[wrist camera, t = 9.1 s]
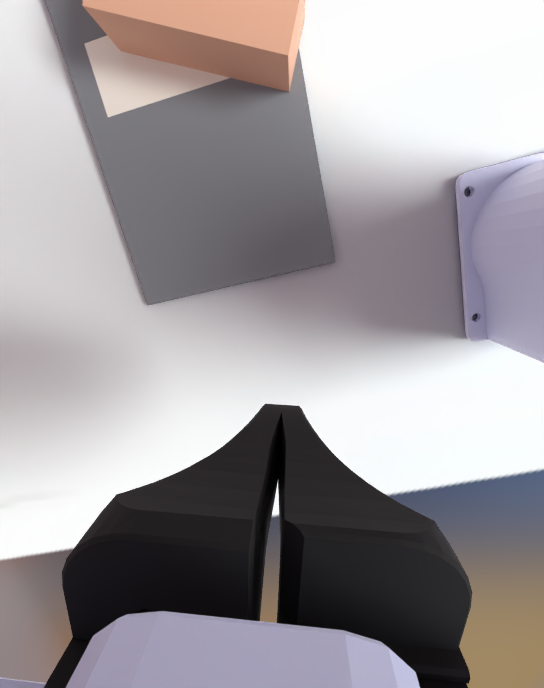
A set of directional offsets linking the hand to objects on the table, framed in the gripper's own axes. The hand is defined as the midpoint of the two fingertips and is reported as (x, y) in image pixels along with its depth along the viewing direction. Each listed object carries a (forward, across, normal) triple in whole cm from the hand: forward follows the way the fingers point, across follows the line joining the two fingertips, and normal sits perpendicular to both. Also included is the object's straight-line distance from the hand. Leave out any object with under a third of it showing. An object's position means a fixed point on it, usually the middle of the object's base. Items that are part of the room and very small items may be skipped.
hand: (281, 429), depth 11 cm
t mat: (+9, +6, -14) cm, 18 cm away
